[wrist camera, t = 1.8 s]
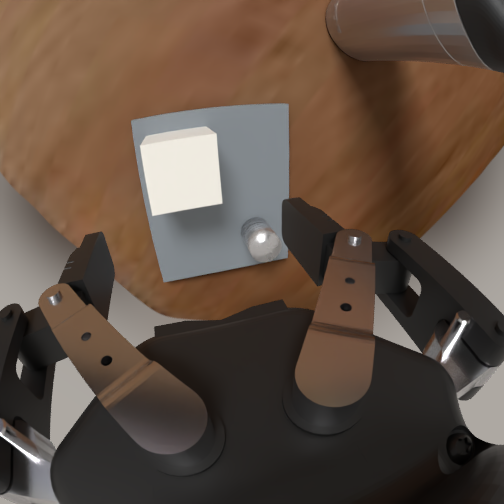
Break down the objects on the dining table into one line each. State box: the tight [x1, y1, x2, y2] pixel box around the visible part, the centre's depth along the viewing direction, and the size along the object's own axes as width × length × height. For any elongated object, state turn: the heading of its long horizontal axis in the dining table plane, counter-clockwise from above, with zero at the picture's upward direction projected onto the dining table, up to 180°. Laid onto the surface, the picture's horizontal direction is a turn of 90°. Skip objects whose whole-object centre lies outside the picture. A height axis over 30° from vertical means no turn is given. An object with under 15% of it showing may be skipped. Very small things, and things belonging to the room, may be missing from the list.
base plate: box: [131, 103, 289, 282], centre depth 29 cm, size 15×18×2 cm
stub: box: [241, 217, 282, 262], centre depth 30 cm, size 3×3×4 cm
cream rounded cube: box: [140, 126, 223, 216], centre depth 22 cm, size 6×6×6 cm
